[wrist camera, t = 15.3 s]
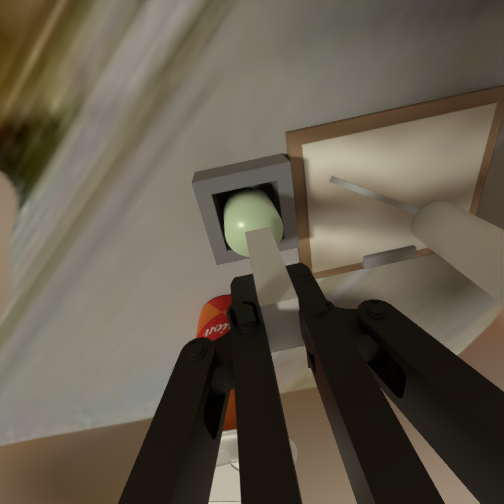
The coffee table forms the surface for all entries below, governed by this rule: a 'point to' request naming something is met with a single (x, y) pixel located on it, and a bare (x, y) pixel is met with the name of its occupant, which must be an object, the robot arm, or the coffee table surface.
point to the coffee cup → (227, 466)
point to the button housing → (240, 177)
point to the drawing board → (388, 177)
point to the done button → (249, 217)
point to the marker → (464, 243)
